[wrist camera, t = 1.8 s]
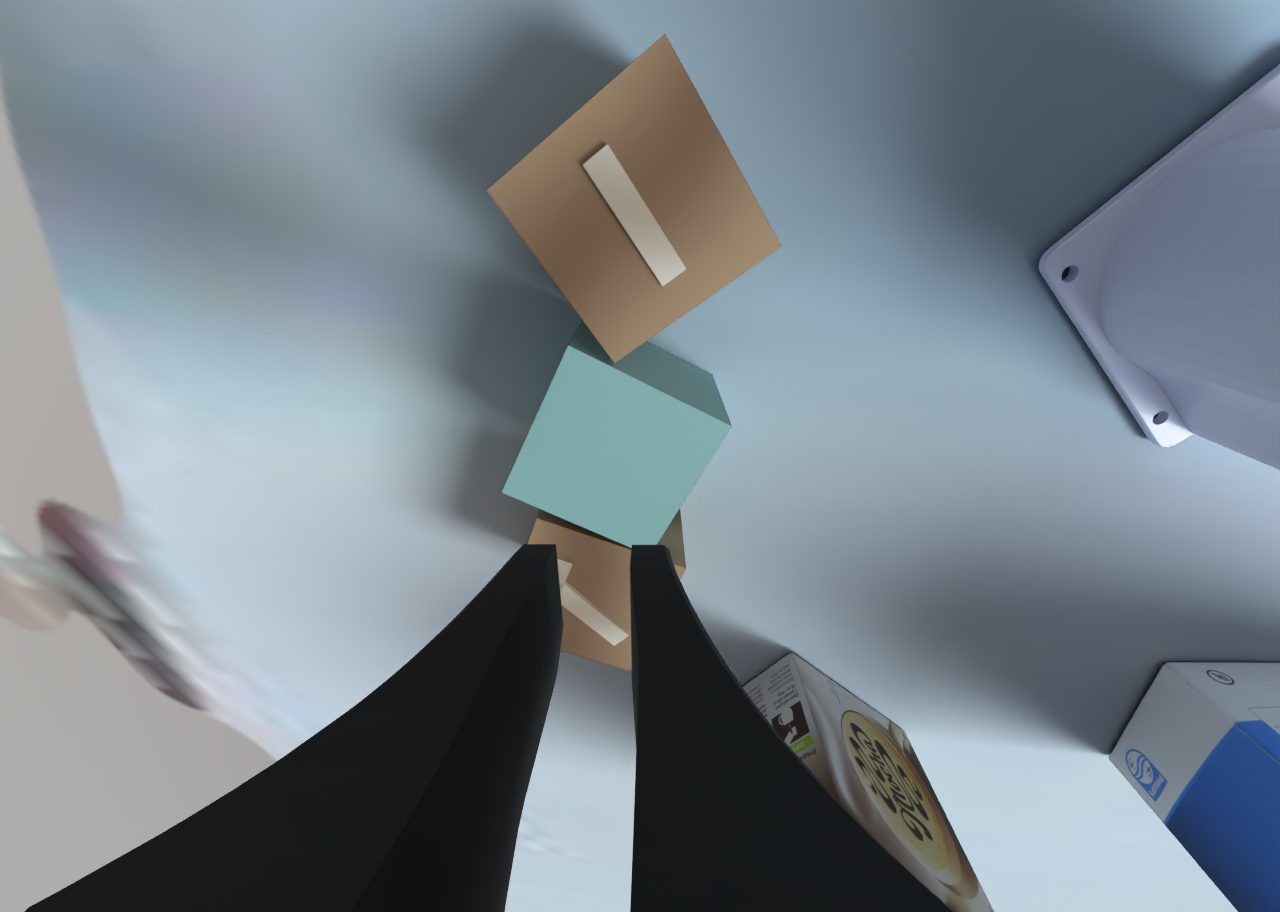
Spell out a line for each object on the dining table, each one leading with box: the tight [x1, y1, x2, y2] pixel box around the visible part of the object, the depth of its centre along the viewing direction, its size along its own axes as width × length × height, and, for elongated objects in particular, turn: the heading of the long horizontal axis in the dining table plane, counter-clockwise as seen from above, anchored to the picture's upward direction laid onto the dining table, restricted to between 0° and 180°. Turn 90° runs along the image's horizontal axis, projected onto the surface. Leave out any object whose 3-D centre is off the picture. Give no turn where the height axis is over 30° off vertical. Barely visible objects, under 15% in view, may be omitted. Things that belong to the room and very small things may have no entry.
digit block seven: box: [527, 509, 686, 671], centre depth 20 cm, size 5×5×5 cm
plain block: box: [502, 320, 732, 548], centre depth 17 cm, size 5×5×5 cm
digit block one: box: [487, 34, 781, 363], centre depth 14 cm, size 5×5×5 cm
